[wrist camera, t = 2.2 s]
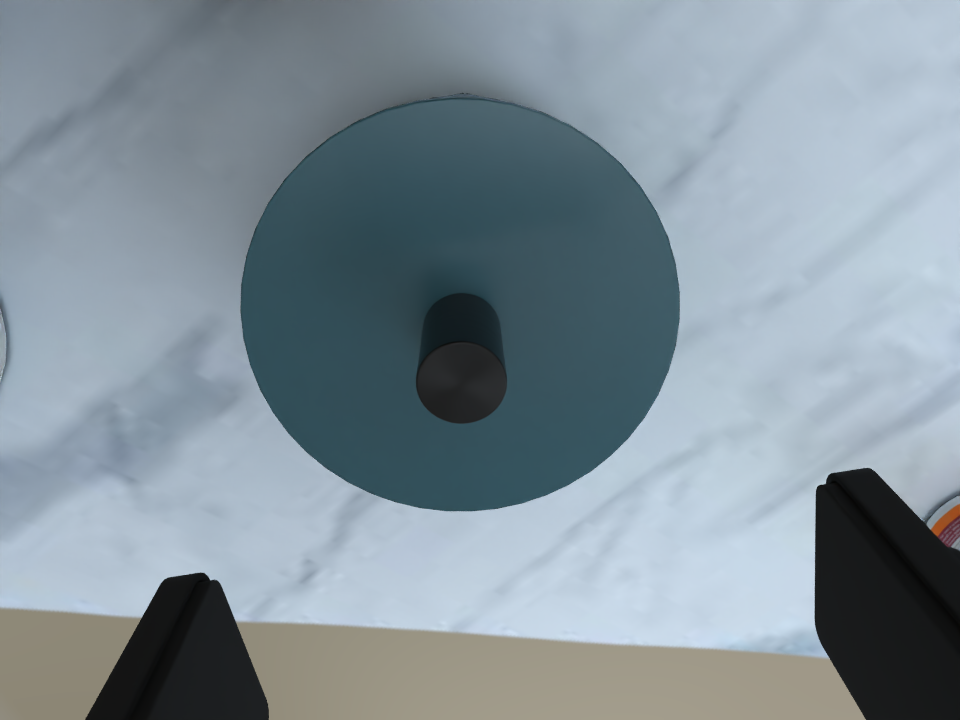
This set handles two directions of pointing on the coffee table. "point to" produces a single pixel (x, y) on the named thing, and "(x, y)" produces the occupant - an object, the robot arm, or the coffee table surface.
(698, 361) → the coffee table surface
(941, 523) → the pill bottle
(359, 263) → the lid
